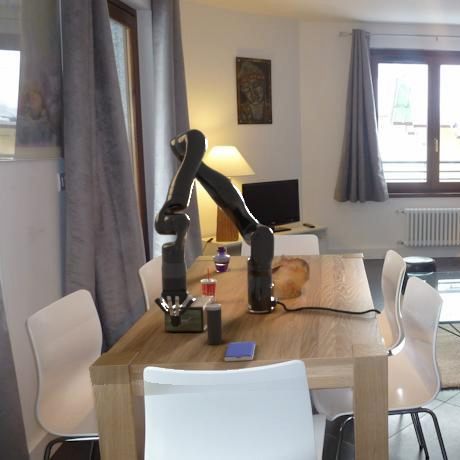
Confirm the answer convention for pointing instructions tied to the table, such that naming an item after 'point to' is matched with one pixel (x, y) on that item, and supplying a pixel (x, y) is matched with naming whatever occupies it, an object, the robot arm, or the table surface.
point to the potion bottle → (221, 259)
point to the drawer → (186, 321)
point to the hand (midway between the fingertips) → (176, 326)
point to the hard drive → (240, 351)
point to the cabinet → (198, 304)
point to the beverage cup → (209, 287)
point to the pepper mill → (214, 324)
